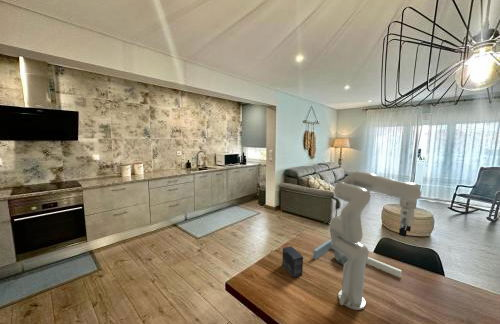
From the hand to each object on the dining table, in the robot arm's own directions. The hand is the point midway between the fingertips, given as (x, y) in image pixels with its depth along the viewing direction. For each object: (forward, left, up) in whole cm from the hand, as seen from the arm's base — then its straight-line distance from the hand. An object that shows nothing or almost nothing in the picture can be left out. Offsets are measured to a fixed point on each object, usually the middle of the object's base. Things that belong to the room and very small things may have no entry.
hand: (404, 233), depth 120 cm
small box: (-41, +47, -29) cm, 69 cm away
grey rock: (-9, +31, -29) cm, 43 cm away
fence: (-8, +23, -28) cm, 37 cm away
